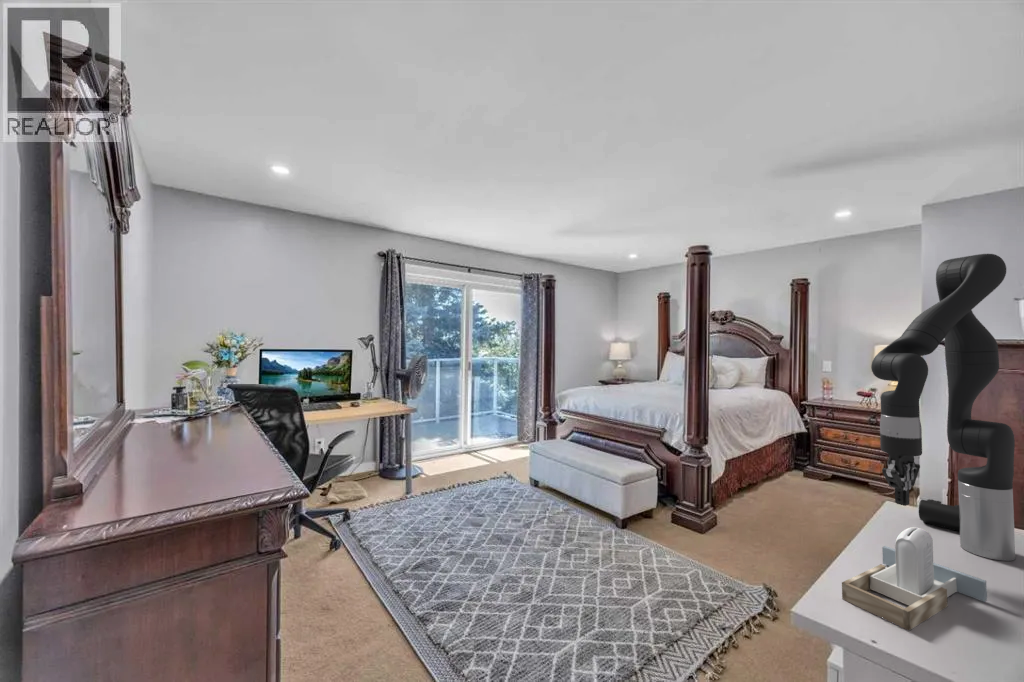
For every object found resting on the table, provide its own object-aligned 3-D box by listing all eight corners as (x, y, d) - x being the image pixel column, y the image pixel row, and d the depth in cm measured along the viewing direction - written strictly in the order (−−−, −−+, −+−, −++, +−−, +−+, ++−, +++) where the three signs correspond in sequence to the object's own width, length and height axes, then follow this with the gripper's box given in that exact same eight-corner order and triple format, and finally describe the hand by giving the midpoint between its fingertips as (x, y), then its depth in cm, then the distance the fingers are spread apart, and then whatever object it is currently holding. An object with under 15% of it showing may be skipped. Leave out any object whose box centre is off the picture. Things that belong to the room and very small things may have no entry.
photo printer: (911, 575, 95) (909, 520, 95) (937, 584, 91) (935, 527, 91) (893, 589, 89) (891, 531, 89) (920, 599, 86) (918, 539, 86)
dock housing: (908, 630, 79) (908, 611, 79) (842, 599, 88) (841, 582, 89) (947, 606, 85) (946, 589, 85) (881, 579, 95) (880, 564, 95)
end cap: (918, 524, 122) (917, 501, 122) (925, 518, 126) (924, 496, 126) (968, 537, 114) (967, 512, 114) (974, 530, 118) (973, 506, 118)
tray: (951, 624, 79) (950, 602, 79) (848, 579, 95) (847, 561, 95) (987, 600, 86) (986, 580, 86) (885, 562, 102) (884, 545, 102)
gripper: (906, 439, 97) (908, 514, 96) (933, 433, 102) (935, 504, 102) (867, 433, 103) (869, 503, 103) (895, 428, 109) (896, 495, 109)
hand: (902, 504), depth 103 cm, fingers closed
